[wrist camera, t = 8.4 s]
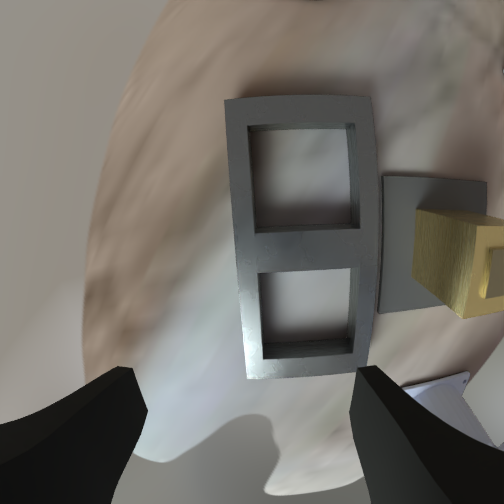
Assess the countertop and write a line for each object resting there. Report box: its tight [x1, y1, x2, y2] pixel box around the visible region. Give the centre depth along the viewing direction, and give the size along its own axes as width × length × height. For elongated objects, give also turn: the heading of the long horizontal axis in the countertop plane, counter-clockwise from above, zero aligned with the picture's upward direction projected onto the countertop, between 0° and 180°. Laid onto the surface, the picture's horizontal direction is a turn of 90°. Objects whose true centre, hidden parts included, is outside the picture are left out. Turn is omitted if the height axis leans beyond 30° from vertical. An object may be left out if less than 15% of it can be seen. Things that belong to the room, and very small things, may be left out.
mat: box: [377, 176, 487, 314], centre depth 16 cm, size 9×9×1 cm
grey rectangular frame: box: [224, 95, 379, 379], centre depth 16 cm, size 17×8×2 cm, turn 4°
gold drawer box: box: [411, 209, 504, 319], centre depth 13 cm, size 4×4×7 cm
